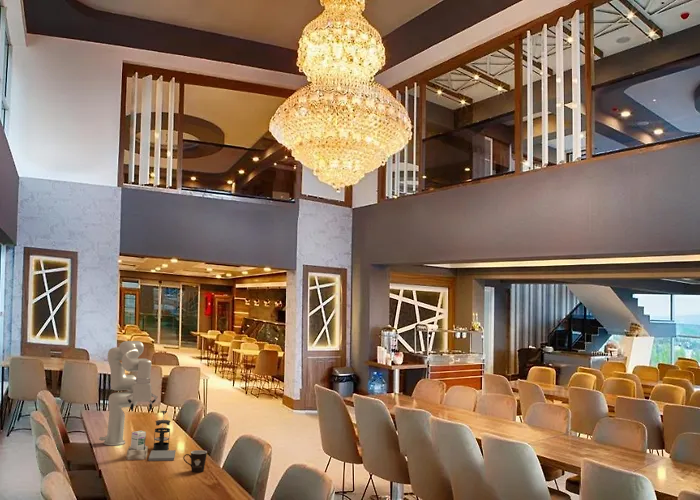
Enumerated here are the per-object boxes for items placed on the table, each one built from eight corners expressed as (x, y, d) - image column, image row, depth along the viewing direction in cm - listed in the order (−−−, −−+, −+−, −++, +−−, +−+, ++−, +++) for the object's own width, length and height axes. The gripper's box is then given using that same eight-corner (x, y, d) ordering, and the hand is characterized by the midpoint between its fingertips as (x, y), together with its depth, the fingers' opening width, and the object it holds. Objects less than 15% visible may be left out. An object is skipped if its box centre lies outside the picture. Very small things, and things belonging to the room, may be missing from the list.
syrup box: (136, 459, 331) (138, 433, 333) (129, 457, 334) (131, 431, 336) (144, 457, 336) (146, 431, 338) (137, 455, 339) (139, 430, 341)
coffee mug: (208, 470, 316) (210, 451, 317) (199, 474, 307) (201, 454, 309) (190, 467, 319) (192, 448, 320) (181, 471, 311) (182, 452, 312)
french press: (169, 450, 353) (172, 412, 355) (153, 451, 349) (156, 412, 352) (168, 446, 364) (170, 409, 366) (152, 447, 360) (155, 409, 363)
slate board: (148, 461, 328) (148, 458, 328) (151, 453, 346) (151, 450, 346) (174, 460, 332) (174, 457, 332) (175, 452, 349) (175, 450, 349)
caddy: (126, 459, 329) (127, 450, 330) (128, 455, 339) (129, 446, 340) (145, 459, 332) (146, 450, 332) (147, 454, 342) (147, 446, 342)
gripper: (127, 381, 334) (124, 412, 332) (158, 382, 338) (156, 412, 337) (128, 380, 341) (126, 410, 340) (159, 380, 346) (156, 410, 344)
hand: (141, 411), depth 338 cm, fingers open, 9 cm apart
